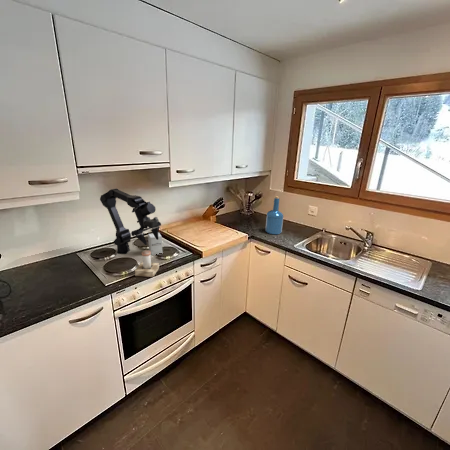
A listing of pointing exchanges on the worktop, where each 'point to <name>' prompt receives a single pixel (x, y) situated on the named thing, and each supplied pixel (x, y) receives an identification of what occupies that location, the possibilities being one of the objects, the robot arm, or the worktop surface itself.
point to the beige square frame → (147, 270)
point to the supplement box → (155, 244)
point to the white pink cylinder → (146, 259)
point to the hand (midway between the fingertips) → (152, 242)
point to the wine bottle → (274, 219)
